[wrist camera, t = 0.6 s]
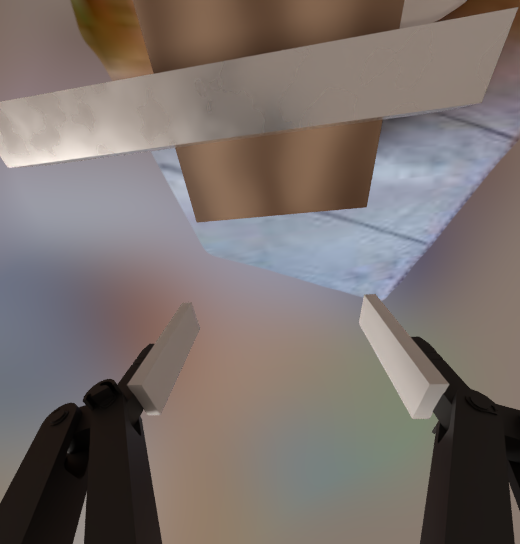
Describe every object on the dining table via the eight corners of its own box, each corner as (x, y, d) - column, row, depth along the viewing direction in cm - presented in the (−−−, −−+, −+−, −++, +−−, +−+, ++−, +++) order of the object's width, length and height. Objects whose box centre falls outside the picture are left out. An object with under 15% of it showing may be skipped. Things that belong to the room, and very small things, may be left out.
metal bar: (47, 165, 17) (8, 168, 15) (17, 114, 15) (-34, 108, 13) (442, 111, 14) (481, 102, 11) (465, 37, 12) (518, 7, 9)
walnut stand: (239, 181, 43) (196, 222, 19) (224, 83, 34) (114, -62, 11) (313, 173, 41) (366, 207, 17) (317, 67, 32) (431, -149, 9)
